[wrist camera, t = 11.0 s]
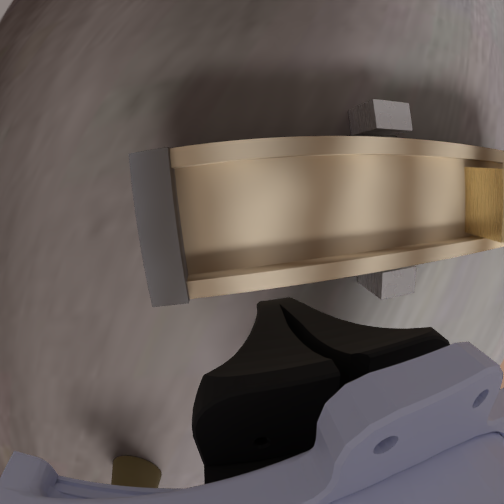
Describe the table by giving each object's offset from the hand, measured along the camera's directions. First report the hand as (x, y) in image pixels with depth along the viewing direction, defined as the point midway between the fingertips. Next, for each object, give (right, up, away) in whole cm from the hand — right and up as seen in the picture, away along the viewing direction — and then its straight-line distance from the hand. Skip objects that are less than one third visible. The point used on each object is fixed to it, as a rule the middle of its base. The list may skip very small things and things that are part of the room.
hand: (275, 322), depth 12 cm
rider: (+18, +7, +7) cm, 21 cm away
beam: (+9, +6, +7) cm, 13 cm away
